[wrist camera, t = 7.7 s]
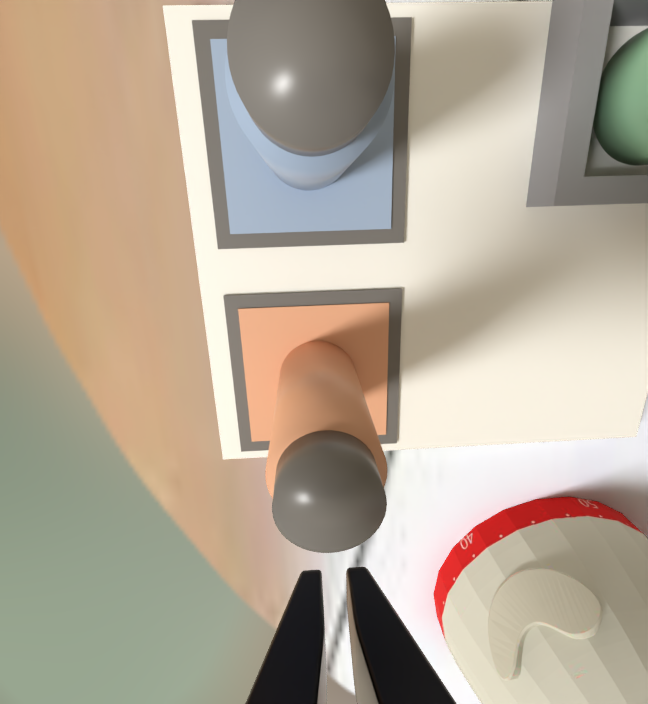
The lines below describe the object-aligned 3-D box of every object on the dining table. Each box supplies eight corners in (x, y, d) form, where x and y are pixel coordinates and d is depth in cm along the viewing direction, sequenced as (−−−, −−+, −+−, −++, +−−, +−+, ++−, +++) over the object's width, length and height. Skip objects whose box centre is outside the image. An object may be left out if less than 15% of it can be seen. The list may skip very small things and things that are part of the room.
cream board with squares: (725, 5, 16) (818, -41, 13) (621, 427, 22) (669, 458, 19) (170, 12, 15) (139, -36, 12) (226, 448, 21) (214, 484, 18)
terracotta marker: (354, 339, 18) (400, 444, 10) (355, 408, 19) (395, 557, 11) (277, 342, 18) (254, 452, 10) (282, 412, 19) (266, 565, 11)
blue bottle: (353, 87, 15) (417, -79, 7) (352, 189, 16) (406, 162, 8) (258, 88, 15) (197, -80, 6) (265, 191, 16) (221, 165, 8)
